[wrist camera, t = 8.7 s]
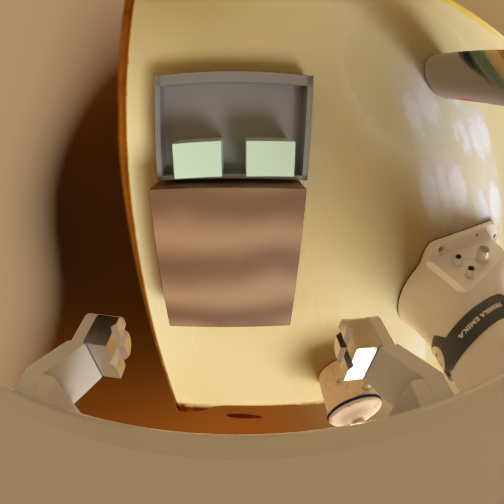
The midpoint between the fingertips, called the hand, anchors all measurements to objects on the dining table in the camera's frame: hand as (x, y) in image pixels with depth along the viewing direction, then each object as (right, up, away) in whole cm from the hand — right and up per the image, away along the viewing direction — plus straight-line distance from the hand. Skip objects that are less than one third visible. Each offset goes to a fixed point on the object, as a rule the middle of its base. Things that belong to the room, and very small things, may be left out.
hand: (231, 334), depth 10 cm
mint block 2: (+2, +10, +15) cm, 18 cm away
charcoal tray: (-1, +15, +15) cm, 21 cm away
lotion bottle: (+23, +24, +12) cm, 35 cm away
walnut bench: (-2, +3, +21) cm, 22 cm away
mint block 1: (-4, +10, +14) cm, 18 cm away
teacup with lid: (+17, -17, +33) cm, 41 cm away
